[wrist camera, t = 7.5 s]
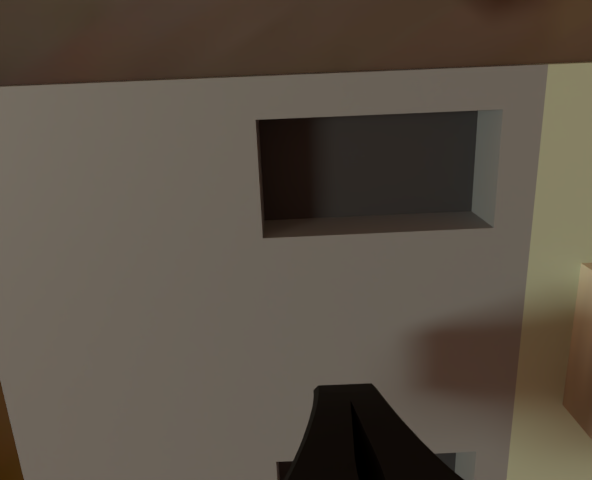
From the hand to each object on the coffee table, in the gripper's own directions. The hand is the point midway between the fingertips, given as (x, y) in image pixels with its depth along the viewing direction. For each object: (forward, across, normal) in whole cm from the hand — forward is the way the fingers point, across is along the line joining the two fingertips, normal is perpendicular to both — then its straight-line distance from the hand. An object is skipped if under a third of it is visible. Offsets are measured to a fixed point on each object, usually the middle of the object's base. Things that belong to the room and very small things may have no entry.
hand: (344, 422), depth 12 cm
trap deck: (+5, -1, 0) cm, 5 cm away
